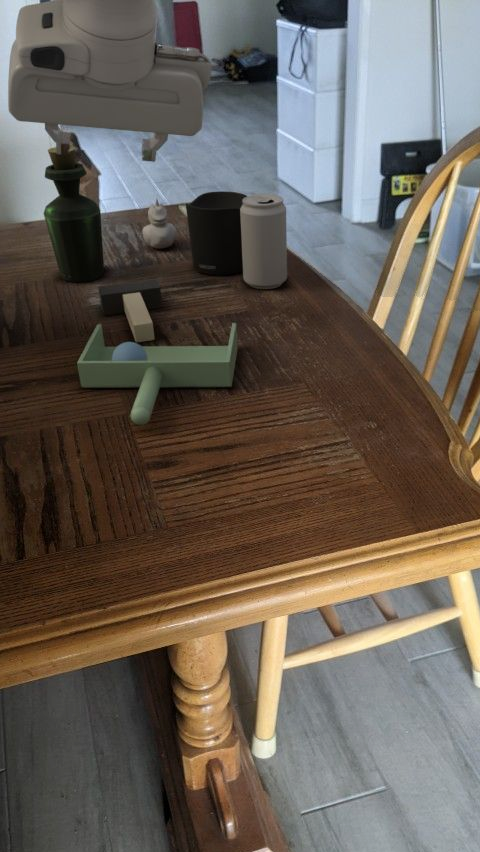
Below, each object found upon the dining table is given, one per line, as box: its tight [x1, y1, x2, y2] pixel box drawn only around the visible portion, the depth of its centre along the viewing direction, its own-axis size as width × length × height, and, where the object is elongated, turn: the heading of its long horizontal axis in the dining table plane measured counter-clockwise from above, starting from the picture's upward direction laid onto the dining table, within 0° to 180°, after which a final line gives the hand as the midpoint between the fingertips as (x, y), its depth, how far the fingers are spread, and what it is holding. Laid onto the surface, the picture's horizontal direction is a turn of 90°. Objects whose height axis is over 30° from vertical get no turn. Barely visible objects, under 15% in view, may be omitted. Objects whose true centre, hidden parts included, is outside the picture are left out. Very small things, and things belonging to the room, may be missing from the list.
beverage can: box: [240, 193, 288, 290], centre depth 111 cm, size 6×6×12 cm
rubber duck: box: [141, 198, 177, 250], centre depth 127 cm, size 5×7×8 cm
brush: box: [97, 278, 163, 343], centre depth 103 cm, size 8×3×13 cm
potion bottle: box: [43, 146, 105, 283], centre depth 113 cm, size 8×8×18 cm
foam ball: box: [112, 341, 148, 361], centre depth 89 cm, size 4×4×4 cm
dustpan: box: [76, 322, 239, 426], centre depth 87 cm, size 20×17×3 cm
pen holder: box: [185, 190, 248, 277], centre depth 117 cm, size 9×9×10 cm
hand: (106, 154), depth 88 cm, fingers open, 8 cm apart
